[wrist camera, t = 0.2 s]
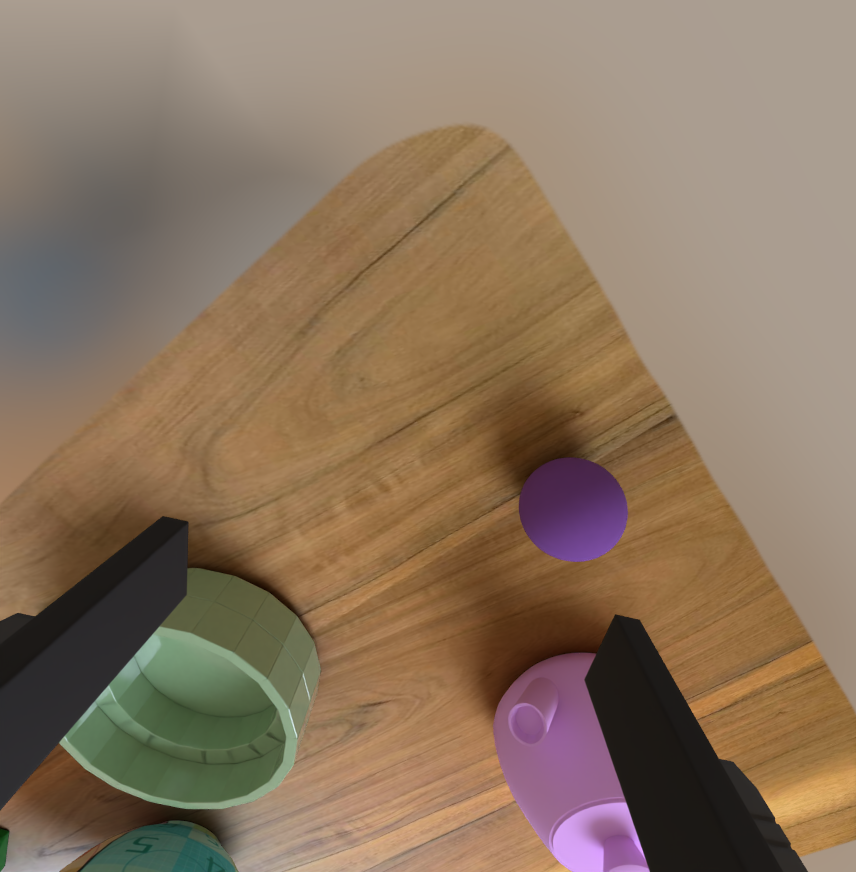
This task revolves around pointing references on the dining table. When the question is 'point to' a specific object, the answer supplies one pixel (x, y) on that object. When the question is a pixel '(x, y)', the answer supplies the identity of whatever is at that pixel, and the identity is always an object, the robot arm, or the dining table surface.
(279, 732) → the green bowl
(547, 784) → the teapot
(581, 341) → the dining table surface
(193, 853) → the bowl
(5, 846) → the milk carton
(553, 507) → the ball
